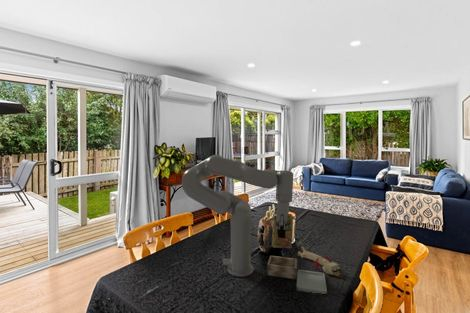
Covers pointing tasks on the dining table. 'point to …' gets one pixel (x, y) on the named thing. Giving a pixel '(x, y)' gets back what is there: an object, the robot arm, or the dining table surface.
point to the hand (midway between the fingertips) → (282, 234)
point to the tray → (311, 282)
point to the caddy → (282, 267)
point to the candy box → (287, 240)
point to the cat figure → (320, 261)
